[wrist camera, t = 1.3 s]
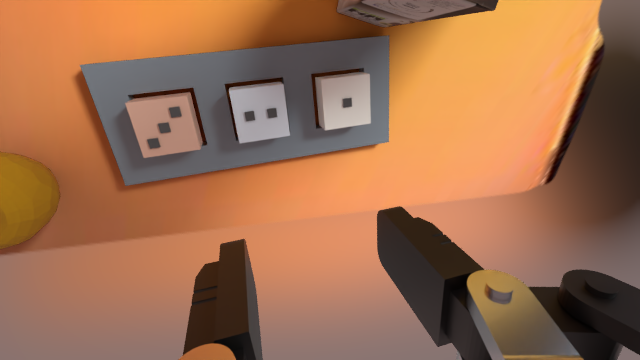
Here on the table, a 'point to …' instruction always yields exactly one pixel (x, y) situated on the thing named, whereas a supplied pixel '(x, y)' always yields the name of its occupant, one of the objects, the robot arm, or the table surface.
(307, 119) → the button board
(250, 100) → the tile two
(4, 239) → the apple
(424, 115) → the table surface
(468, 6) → the coffee box
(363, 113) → the tile one
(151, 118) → the tile three
